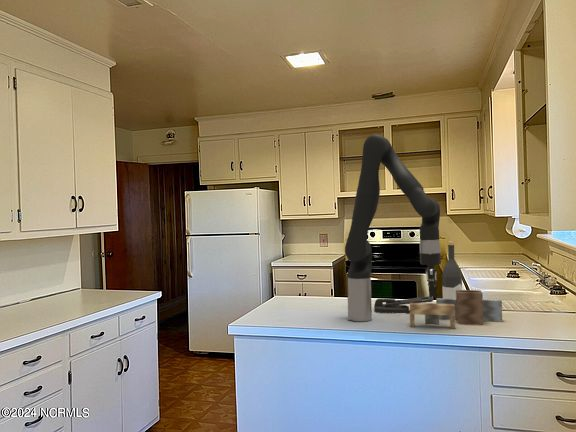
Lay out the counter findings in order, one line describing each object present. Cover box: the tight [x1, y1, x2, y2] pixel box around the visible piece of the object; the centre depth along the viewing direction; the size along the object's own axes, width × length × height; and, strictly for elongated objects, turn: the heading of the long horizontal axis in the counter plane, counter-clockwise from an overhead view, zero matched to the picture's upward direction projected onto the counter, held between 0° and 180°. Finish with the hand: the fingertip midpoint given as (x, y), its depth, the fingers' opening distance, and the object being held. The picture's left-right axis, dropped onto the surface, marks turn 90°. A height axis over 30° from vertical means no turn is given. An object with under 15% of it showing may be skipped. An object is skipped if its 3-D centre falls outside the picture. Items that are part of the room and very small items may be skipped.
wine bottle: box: [441, 240, 463, 299], centre depth 192 cm, size 8×8×30 cm
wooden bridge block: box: [409, 302, 456, 330], centre depth 168 cm, size 16×4×8 cm, turn 73°
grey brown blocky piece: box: [435, 289, 503, 326], centre depth 174 cm, size 24×8×12 cm, turn 73°
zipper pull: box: [373, 295, 434, 314], centre depth 194 cm, size 9×7×25 cm
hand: (432, 294), depth 168 cm, fingers open, 8 cm apart
